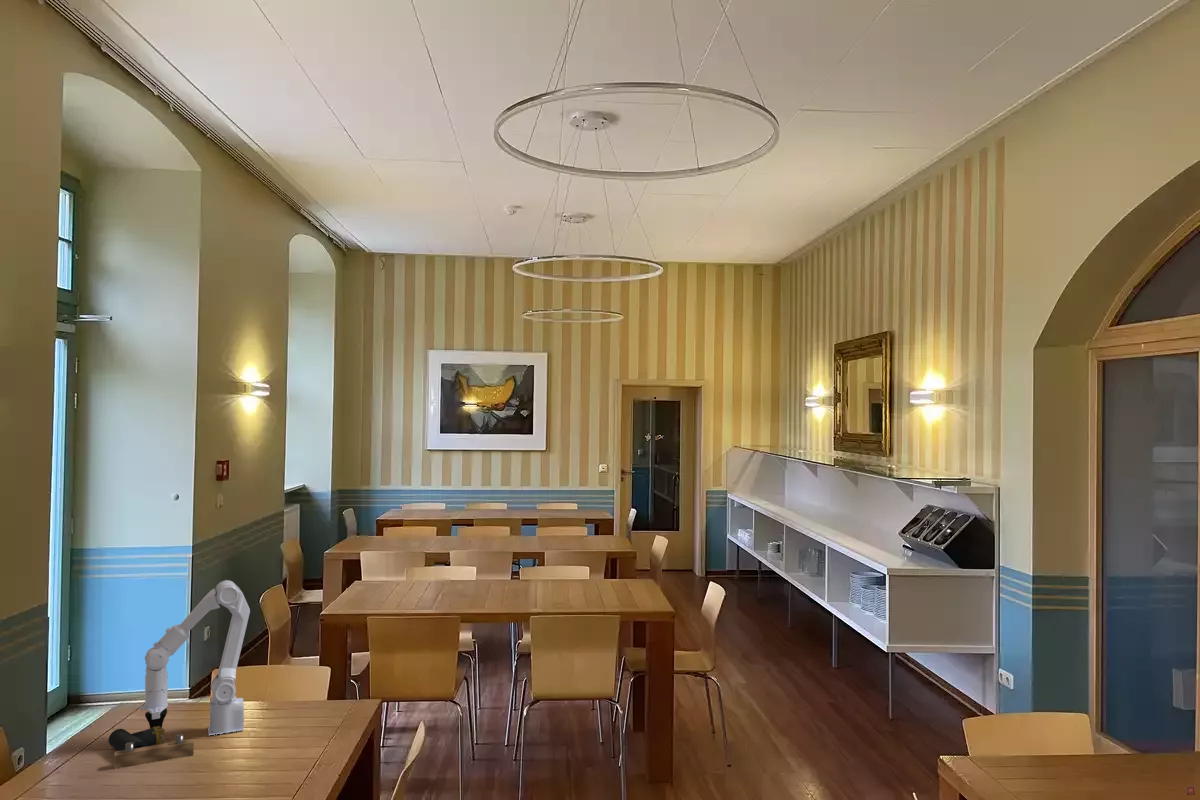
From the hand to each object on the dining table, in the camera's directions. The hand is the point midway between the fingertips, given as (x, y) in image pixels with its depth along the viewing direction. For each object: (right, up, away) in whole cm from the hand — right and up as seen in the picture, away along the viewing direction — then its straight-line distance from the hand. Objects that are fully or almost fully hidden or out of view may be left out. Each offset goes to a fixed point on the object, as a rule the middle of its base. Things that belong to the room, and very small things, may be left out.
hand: (156, 736), depth 237 cm
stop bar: (+7, -1, -14) cm, 16 cm away
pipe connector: (-1, -1, -6) cm, 7 cm away
